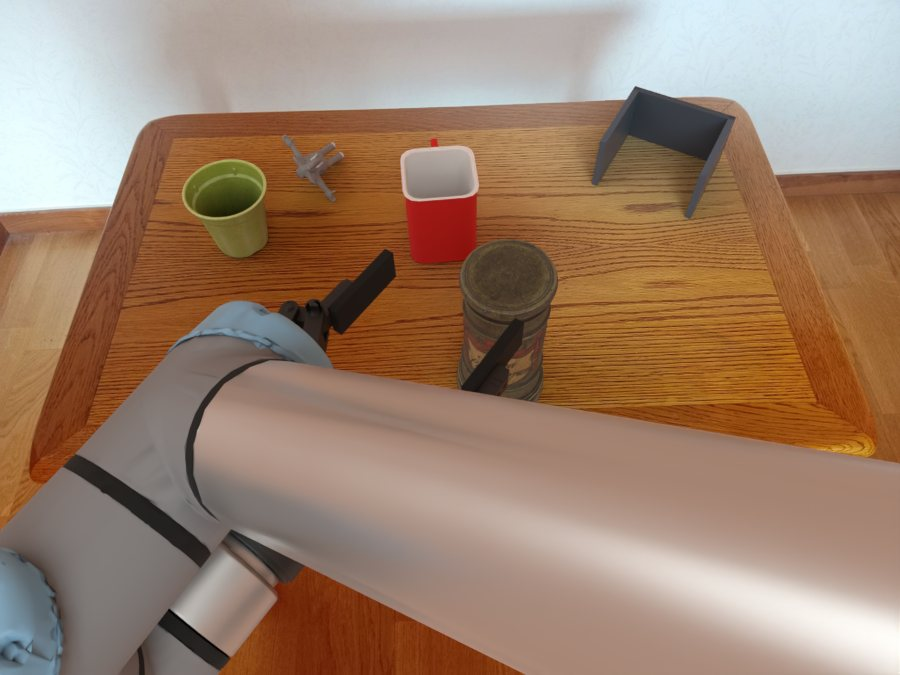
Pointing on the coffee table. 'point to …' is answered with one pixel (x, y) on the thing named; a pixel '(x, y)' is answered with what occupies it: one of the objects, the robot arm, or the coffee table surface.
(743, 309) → the coffee table surface
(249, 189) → the plant pot
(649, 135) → the grey u-shaped piece
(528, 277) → the container
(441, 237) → the mug
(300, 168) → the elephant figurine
